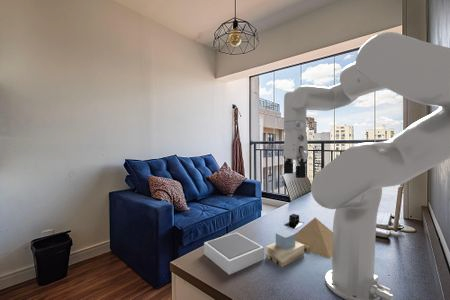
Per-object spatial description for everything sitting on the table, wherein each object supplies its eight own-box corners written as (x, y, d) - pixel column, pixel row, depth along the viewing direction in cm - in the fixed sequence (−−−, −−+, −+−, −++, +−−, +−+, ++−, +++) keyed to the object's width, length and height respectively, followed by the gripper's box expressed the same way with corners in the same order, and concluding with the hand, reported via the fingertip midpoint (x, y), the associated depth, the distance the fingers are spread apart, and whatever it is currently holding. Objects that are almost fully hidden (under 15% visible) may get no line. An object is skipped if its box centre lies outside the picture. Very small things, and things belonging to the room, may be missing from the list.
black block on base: (294, 231, 94) (294, 220, 94) (279, 226, 99) (279, 216, 99) (307, 223, 103) (307, 214, 103) (293, 219, 108) (293, 210, 108)
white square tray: (263, 259, 71) (263, 246, 71) (229, 274, 63) (229, 260, 63) (236, 242, 83) (236, 231, 82) (204, 254, 74) (204, 241, 74)
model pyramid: (282, 244, 82) (283, 218, 82) (302, 230, 95) (302, 207, 94) (330, 261, 71) (330, 231, 71) (344, 242, 84) (345, 217, 83)
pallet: (304, 256, 73) (304, 244, 73) (282, 267, 67) (282, 254, 67) (287, 248, 79) (287, 237, 79) (265, 257, 72) (266, 246, 72)
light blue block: (295, 245, 73) (295, 233, 72) (285, 250, 70) (285, 237, 69) (285, 241, 76) (285, 229, 76) (275, 245, 73) (275, 233, 73)
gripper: (318, 125, 69) (317, 179, 70) (294, 128, 86) (293, 171, 87) (295, 125, 68) (294, 180, 69) (275, 128, 85) (275, 172, 86)
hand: (294, 175), depth 78 cm, fingers open, 9 cm apart
